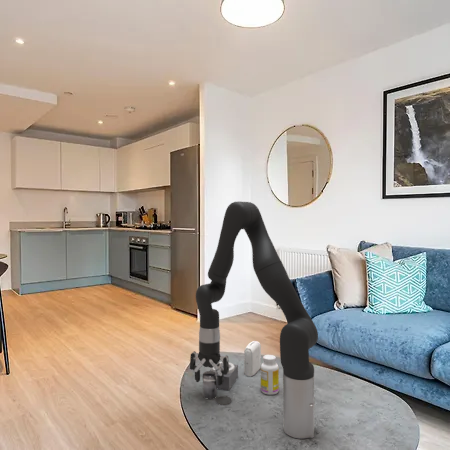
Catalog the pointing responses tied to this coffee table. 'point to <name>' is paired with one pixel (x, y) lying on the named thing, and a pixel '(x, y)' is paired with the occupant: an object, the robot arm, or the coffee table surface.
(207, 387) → the lens
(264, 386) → the supplement bottle
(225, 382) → the camera body
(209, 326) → the robot arm
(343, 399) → the coffee table surface
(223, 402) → the lens cap
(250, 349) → the photo printer
